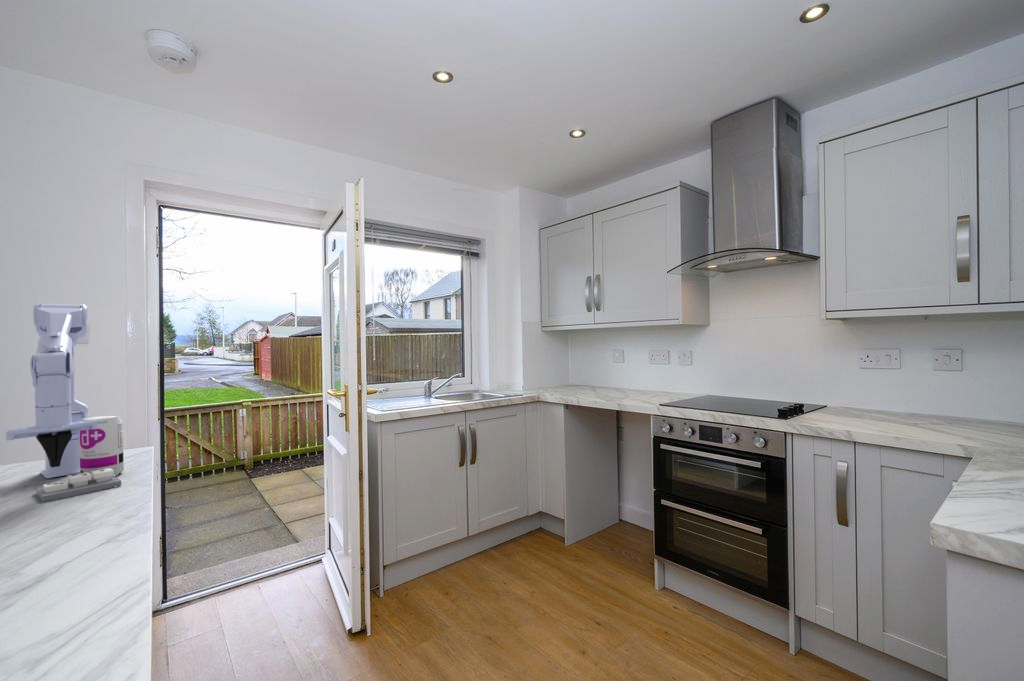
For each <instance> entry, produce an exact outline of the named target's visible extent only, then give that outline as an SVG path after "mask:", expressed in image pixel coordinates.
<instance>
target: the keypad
mask: <svg viewBox="0 0 1024 681" xmlns="http://www.w3.org/2000/svg"><path fill="white" fill-rule="evenodd" d="M66 482H67V483H68V489H63V490H58V491H53V492H48V493H46V492H45V491H44V490H43V486H42V487H37V488H36V489H35V492H36V493H35V494H36V496H37V497H39V499H40V498H41V499H40V500H41V501H42V503H46V502H45V501H47V502H51V501H54V499H56V500H60V499H59V498H61V499H64V498H65V497H66V498H70V497H74V496H75V497H76V496H78V495H85V494H88V493H94V492H98V490H99V491H102V489H104V490H106V489H107V488H108V489H111V488H110V487H113V488H116V487H115V486H118V487H121V486H122V480H120V478H118V477H117V476H110V480H107V481H102V482H97V483H96V482H95V481H94V478H91V480H88V484H87V485H82V486H77V487H72V486H71V483H70V482H68V481H66ZM120 485H121V486H120ZM69 496H70V497H69ZM50 500H51V501H50Z"/></svg>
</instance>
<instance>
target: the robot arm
mask: <svg viewBox="0 0 1024 681" xmlns="http://www.w3.org/2000/svg"><path fill="white" fill-rule="evenodd" d="M32 313H33V316H32V317H33V324H34V326H35V330H36V332H37V333H38V336H39V339H38V343H37V347H36V353H35V355H34V354H33V355H31V357H30V364H29V367H30V374H31V378H32V386H33V387H34V409H35V410H34V414H35V415H34V416H35V418H34V419H35V426H27V427H22V428H15V429H8V430H5V440H6V441H14V440H18V439H26V438H33V437H34V438H35V439H37V441H38V443H39V444H40V445H41V447H42V449H43V451H44V457H45V458H44V460H45V462H44V463H45V464H44V465H45V466H44V468H45V469H42V470H40V471H39V473H40V474H41V475H42V476H43V477H45V478H46V479H52V478H56V477H57V478H59V477H63V476H68V475H74V474H79V473H80V445H79V431H81V430H89V429H98V421H97V420H90V421H82V419H83V418H87V417H91V415H90V408H89V407H88V405H87V404H85V403H84V402H81V401H79V400H77V399H76V368H75V367H76V360H75V359H76V357H75V355H76V353H75V352H76V351H75V350H76V349H75V348H76V344H77V342H78V340H79V339H81V338H85V337H86V336H87V333H88V318H89V317H88V306H86V304H84V303H81V304H71V303H70V304H67V303H66V304H65V303H41V302H40V303H39V302H37V303H36V304H34V305H33V310H32Z"/></svg>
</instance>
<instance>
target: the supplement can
mask: <svg viewBox="0 0 1024 681" xmlns="http://www.w3.org/2000/svg"><path fill="white" fill-rule="evenodd" d="M90 420H97V421H98V429H89V430H81V431H79V445H80V473H84V472H89V473H90V474H91V471H95V470H101V469H106V468H111V469H112V470H114V475H117V474H119V473H122V472H123V471H124V470H125V469H124V466H125V463H124V428H123V427H124V425H123V424H124V422H123V420H122V419H121V417H120V415H119V414H108V415H107V414H105V415H95V416H90V417H87V418H83V419H82V421H90ZM114 475H113V476H114ZM119 475H120V474H119ZM117 476H118V475H117ZM91 478H92V477H91Z"/></svg>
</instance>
